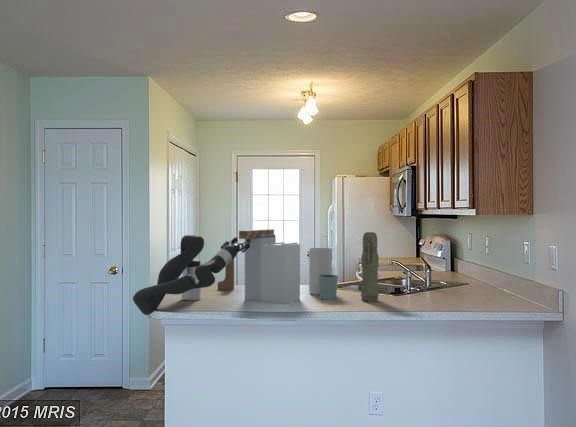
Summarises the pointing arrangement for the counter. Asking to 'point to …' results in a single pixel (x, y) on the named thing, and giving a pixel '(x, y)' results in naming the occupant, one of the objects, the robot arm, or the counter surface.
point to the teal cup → (328, 286)
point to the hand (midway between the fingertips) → (243, 239)
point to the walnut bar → (254, 233)
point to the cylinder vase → (318, 267)
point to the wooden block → (228, 278)
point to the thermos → (369, 267)
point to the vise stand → (272, 270)
